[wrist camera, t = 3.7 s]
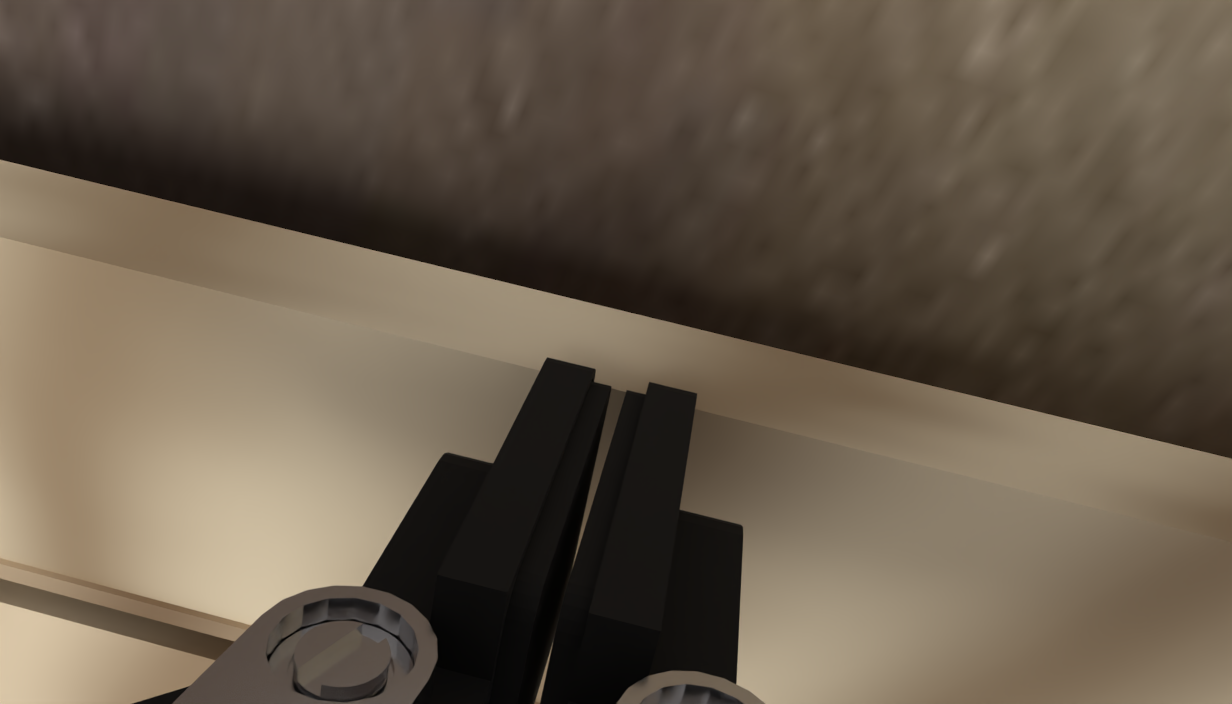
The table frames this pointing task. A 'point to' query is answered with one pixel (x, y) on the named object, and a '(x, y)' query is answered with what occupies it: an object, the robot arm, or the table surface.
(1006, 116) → the table surface
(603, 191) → the table surface
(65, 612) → the laid board
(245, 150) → the table surface
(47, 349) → the plank
